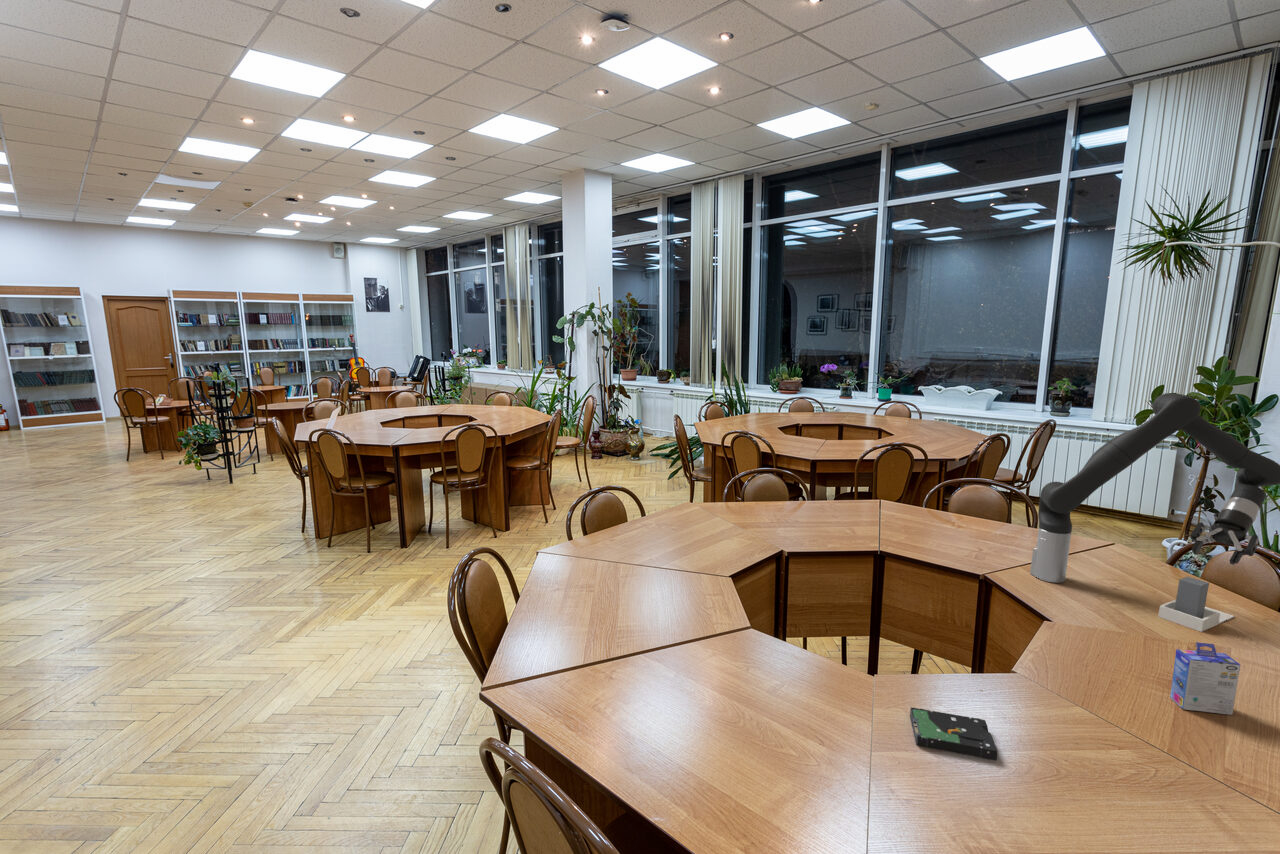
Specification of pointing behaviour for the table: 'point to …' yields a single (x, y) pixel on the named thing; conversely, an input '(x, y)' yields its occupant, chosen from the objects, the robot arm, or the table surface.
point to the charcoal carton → (1191, 596)
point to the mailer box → (1208, 621)
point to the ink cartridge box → (1205, 680)
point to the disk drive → (952, 733)
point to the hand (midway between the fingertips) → (1212, 558)
